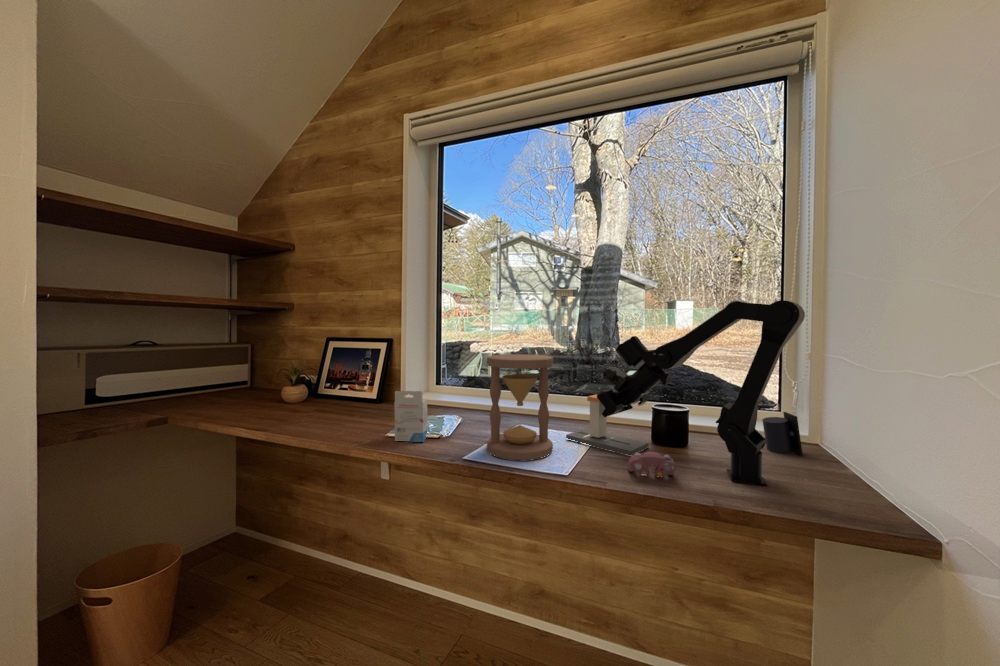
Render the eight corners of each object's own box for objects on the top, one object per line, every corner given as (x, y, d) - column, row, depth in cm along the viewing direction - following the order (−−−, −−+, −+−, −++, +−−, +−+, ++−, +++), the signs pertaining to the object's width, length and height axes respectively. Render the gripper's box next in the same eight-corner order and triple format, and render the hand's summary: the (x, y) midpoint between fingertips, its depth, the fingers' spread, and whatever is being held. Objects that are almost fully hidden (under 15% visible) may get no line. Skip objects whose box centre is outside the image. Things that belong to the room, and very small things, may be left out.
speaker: (798, 449, 102) (794, 410, 102) (803, 457, 97) (799, 416, 97) (764, 447, 106) (760, 410, 106) (767, 455, 101) (763, 416, 101)
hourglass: (551, 441, 111) (552, 354, 110) (553, 462, 93) (554, 360, 93) (491, 439, 112) (491, 354, 112) (482, 460, 95) (482, 359, 94)
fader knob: (608, 435, 110) (609, 396, 110) (599, 438, 106) (599, 398, 106) (596, 432, 113) (596, 394, 113) (587, 435, 109) (587, 396, 109)
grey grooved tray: (648, 448, 104) (648, 442, 104) (631, 457, 97) (631, 450, 97) (585, 433, 118) (585, 427, 118) (566, 439, 111) (566, 434, 111)
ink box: (428, 438, 113) (428, 388, 113) (423, 443, 108) (423, 391, 108) (400, 437, 114) (400, 387, 114) (394, 442, 109) (393, 390, 109)
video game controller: (628, 482, 86) (629, 459, 82) (626, 466, 89) (628, 444, 86) (675, 486, 83) (679, 463, 80) (672, 470, 87) (675, 447, 84)
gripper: (637, 355, 110) (603, 389, 119) (603, 360, 97) (567, 397, 106) (665, 386, 105) (626, 419, 113) (632, 395, 92) (592, 431, 100)
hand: (603, 415), depth 108 cm, fingers closed, pressing on fader knob
